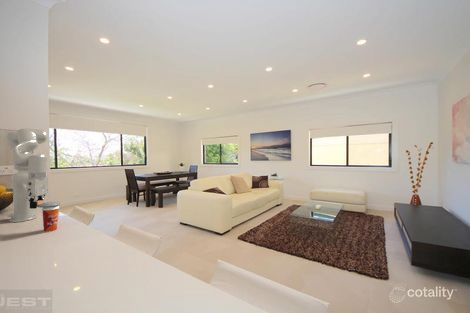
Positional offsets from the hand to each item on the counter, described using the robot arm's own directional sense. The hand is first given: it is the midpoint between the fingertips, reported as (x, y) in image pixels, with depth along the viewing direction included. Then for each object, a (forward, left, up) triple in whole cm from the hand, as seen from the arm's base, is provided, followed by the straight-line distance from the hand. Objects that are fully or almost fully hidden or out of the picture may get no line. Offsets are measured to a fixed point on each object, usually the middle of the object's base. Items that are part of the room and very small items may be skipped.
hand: (36, 207), depth 119 cm
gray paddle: (+5, 0, +1) cm, 5 cm away
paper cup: (+7, 0, -14) cm, 16 cm away
